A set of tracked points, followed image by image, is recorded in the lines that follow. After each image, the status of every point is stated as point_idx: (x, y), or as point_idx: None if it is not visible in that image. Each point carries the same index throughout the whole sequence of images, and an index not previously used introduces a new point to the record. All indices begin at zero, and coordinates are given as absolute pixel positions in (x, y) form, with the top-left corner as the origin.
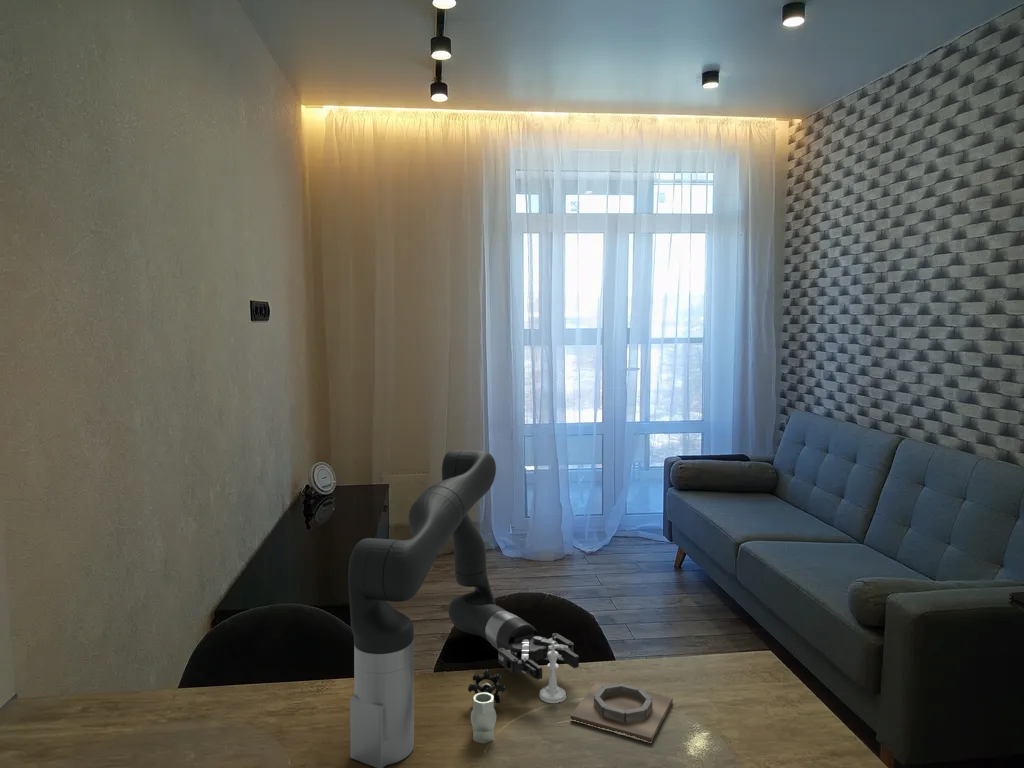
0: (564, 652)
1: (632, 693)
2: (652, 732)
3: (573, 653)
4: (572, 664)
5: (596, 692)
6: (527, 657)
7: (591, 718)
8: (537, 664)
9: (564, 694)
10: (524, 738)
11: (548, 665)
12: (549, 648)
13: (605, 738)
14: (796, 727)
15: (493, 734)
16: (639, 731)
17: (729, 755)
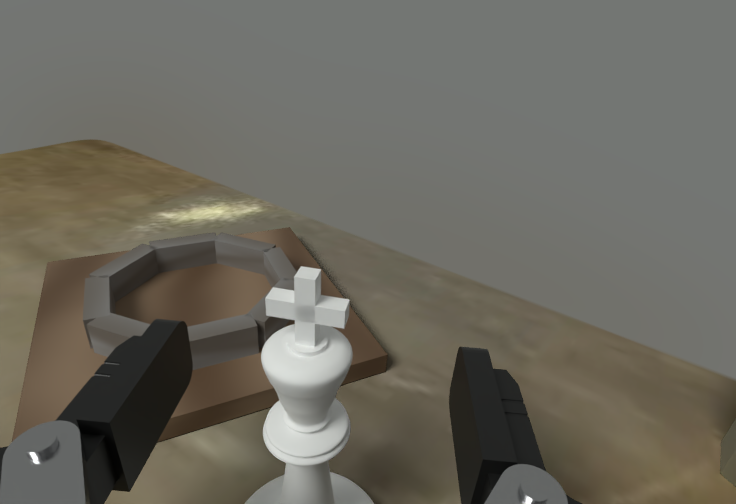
0: (122, 424)
1: (112, 302)
2: (267, 232)
3: (135, 347)
4: (178, 386)
5: (226, 332)
6: (499, 495)
7: None
8: (468, 378)
9: (278, 477)
10: (589, 390)
11: (338, 430)
12: (347, 309)
13: (357, 287)
14: (42, 170)
15: (727, 441)
16: (287, 242)
17: (215, 188)
